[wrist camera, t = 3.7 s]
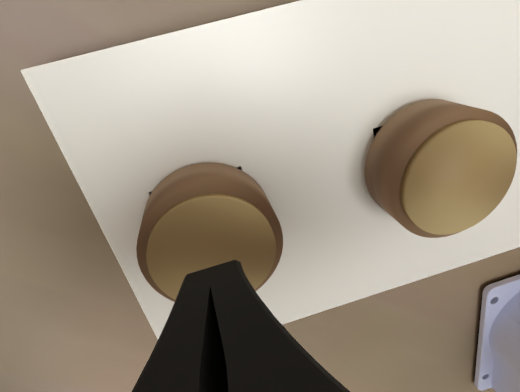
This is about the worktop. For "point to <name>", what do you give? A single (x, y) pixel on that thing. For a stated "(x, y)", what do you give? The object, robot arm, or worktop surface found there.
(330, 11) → the mount plate
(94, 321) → the worktop surface
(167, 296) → the knob
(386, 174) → the knob middle
